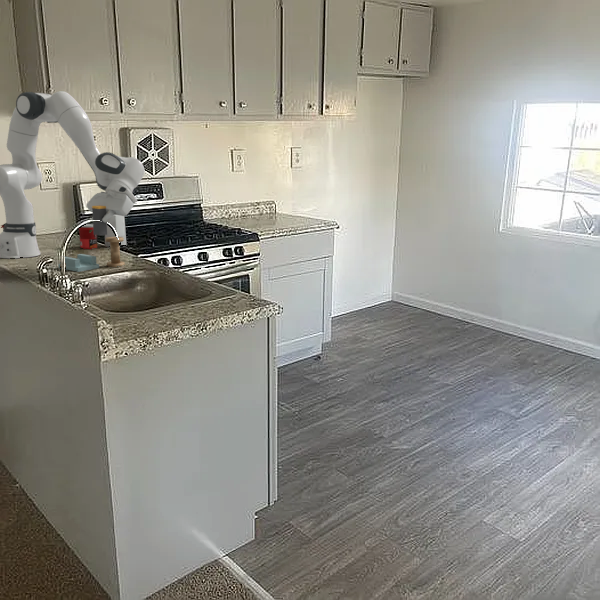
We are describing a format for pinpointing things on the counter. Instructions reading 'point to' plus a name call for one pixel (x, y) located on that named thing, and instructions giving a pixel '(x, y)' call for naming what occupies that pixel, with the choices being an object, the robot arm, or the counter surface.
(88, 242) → the canned food
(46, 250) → the counter surface
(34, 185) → the robot arm
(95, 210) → the dark grey cylinder
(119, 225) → the skincare box
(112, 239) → the bobbin
